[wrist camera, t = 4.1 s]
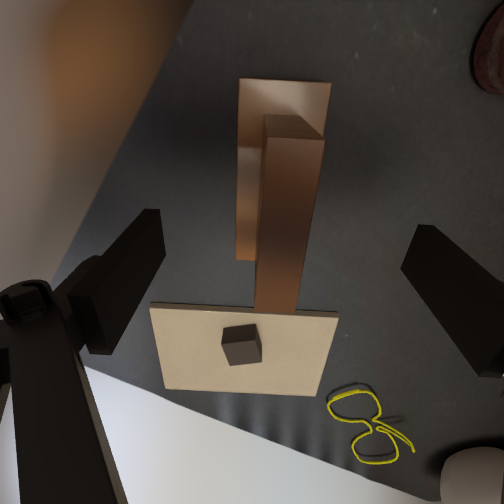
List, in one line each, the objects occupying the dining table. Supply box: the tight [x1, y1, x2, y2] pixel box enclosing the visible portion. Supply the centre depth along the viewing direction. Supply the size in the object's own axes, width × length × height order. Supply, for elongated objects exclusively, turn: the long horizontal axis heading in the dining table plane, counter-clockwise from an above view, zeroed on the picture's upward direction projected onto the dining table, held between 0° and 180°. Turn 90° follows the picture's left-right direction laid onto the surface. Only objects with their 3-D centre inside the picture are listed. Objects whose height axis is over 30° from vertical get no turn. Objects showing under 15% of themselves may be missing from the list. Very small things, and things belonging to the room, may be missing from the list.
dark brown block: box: [221, 324, 262, 366], centre depth 33 cm, size 4×4×2 cm
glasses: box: [327, 389, 415, 464], centre depth 44 cm, size 25×10×5 cm, turn 25°
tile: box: [149, 302, 339, 396], centre depth 37 cm, size 22×16×1 cm
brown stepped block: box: [235, 77, 332, 314], centre depth 19 cm, size 14×6×12 cm, turn 177°
